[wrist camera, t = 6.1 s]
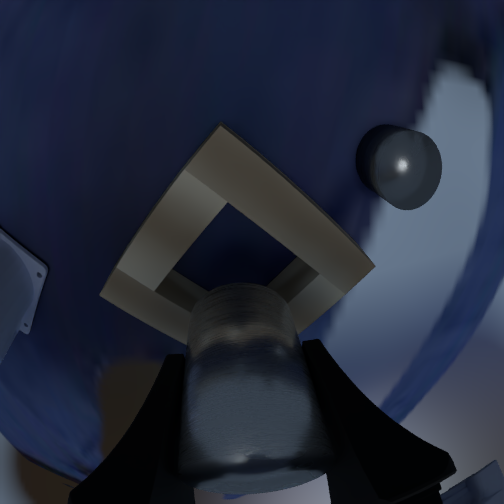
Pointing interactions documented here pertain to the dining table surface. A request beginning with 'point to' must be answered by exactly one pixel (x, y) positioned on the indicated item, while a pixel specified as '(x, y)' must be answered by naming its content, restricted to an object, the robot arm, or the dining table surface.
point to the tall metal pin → (248, 397)
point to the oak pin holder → (255, 208)
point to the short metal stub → (399, 165)
